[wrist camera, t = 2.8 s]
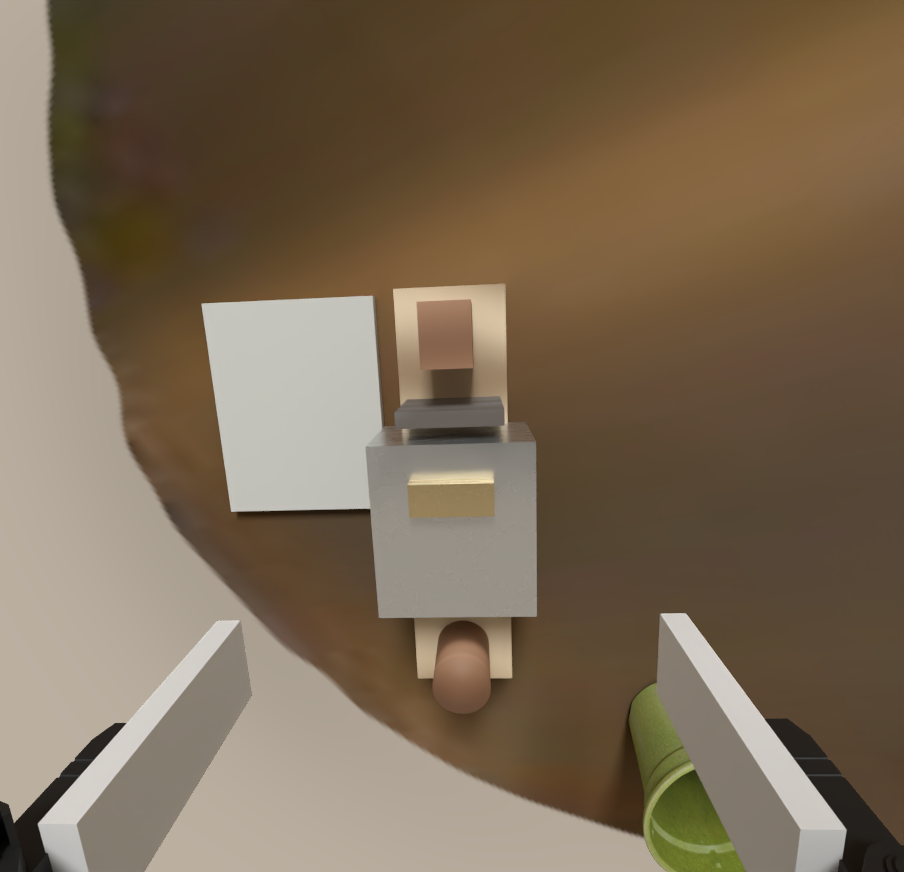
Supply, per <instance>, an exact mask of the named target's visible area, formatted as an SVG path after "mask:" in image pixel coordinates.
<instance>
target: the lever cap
mask: <svg viewBox="0 0 904 872" xmlns="http://www.w3.org/2000/svg"><path fill="white" fill-rule="evenodd" d="M365 449H366V462H367V474H368V486H369V499H370V511H371V524H372V536H373V549H374V561H375V574H376V586H377V599H378V611H379V618H435V617H537V547H536V441H535V439H534V437H533V435H532V433H531V431H530V430H529V428H528V426H527V424H526V422H506V423H505V426H483V427H451V428H418V429H395V426H384V427H383V428H382V430H381V431H380V432H379V433H378V434H377V435H376V436H375V437H374V438H373V439H372V440H371V441H370V442H369V443H368V444H367V445H366V447H365Z"/></svg>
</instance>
